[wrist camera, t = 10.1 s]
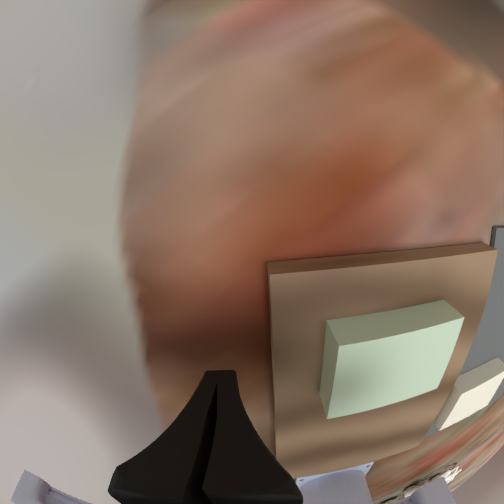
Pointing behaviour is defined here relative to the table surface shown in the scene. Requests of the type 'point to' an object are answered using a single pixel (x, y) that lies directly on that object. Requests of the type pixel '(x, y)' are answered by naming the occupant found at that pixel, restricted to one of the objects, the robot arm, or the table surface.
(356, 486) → the robot arm
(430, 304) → the tile sage
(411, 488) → the tangled rod sculpture
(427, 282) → the board
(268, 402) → the table surface
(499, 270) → the mat
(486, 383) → the tile cream
